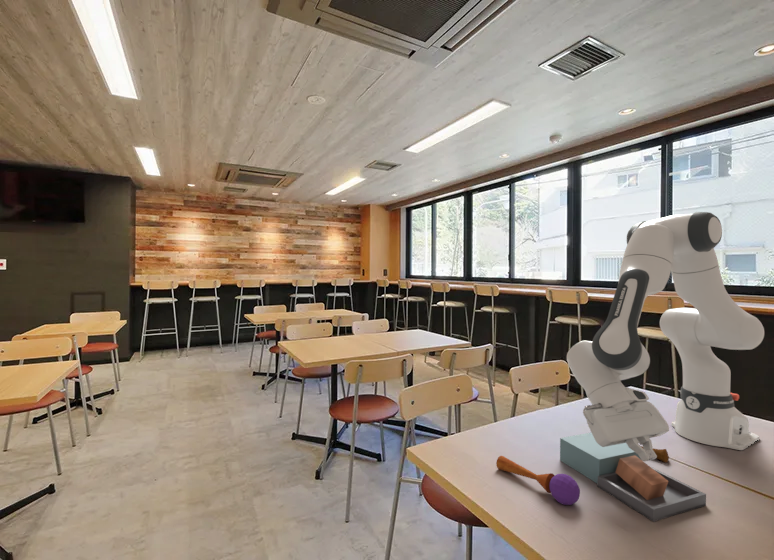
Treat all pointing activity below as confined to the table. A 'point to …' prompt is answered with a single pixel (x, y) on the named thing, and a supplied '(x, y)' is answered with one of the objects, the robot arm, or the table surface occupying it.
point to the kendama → (546, 481)
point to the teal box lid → (592, 455)
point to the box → (670, 504)
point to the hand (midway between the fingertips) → (650, 459)
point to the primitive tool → (661, 454)
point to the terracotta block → (641, 477)
